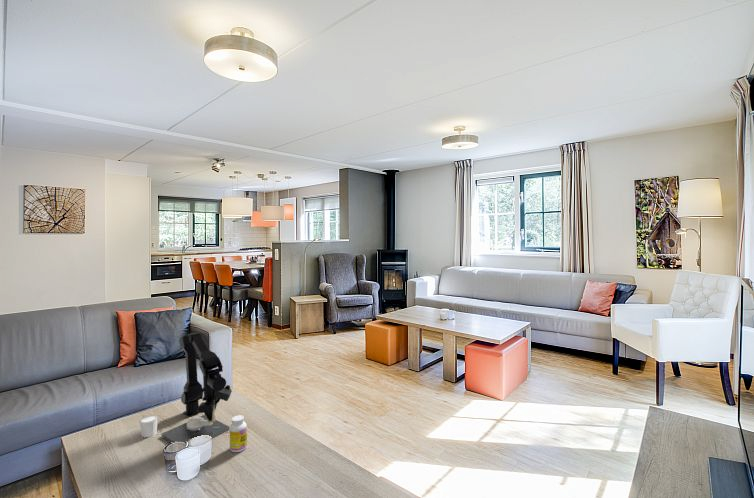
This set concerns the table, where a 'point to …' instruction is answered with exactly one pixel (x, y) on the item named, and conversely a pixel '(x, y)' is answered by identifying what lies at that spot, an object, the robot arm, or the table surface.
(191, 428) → the beige rounded piece
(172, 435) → the base
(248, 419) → the table surface
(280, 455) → the table surface
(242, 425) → the supplement bottle
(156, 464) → the table surface
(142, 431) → the shot glass
